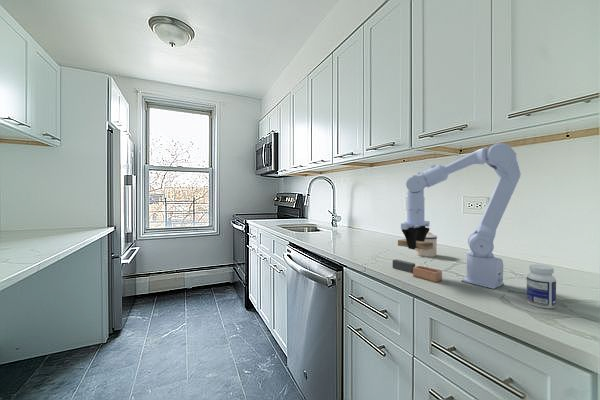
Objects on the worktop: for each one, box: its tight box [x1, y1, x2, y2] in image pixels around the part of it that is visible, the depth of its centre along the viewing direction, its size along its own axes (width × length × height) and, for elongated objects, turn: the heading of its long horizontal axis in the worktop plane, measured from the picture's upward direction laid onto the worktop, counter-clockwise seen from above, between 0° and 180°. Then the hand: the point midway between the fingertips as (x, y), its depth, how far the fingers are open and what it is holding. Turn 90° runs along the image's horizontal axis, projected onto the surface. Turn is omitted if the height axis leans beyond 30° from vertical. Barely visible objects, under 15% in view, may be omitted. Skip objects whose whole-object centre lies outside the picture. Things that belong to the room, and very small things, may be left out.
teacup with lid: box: [413, 231, 438, 258], centre depth 128 cm, size 12×9×12 cm
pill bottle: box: [526, 264, 557, 310], centre depth 71 cm, size 6×6×10 cm
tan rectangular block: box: [412, 265, 443, 284], centre depth 93 cm, size 8×4×3 cm, turn 36°
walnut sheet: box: [397, 238, 433, 250], centre depth 98 cm, size 11×4×2 cm, turn 35°
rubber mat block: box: [392, 259, 416, 274], centre depth 104 cm, size 8×2×3 cm, turn 36°
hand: (415, 248), depth 98 cm, fingers closed on walnut sheet, 4 cm apart
